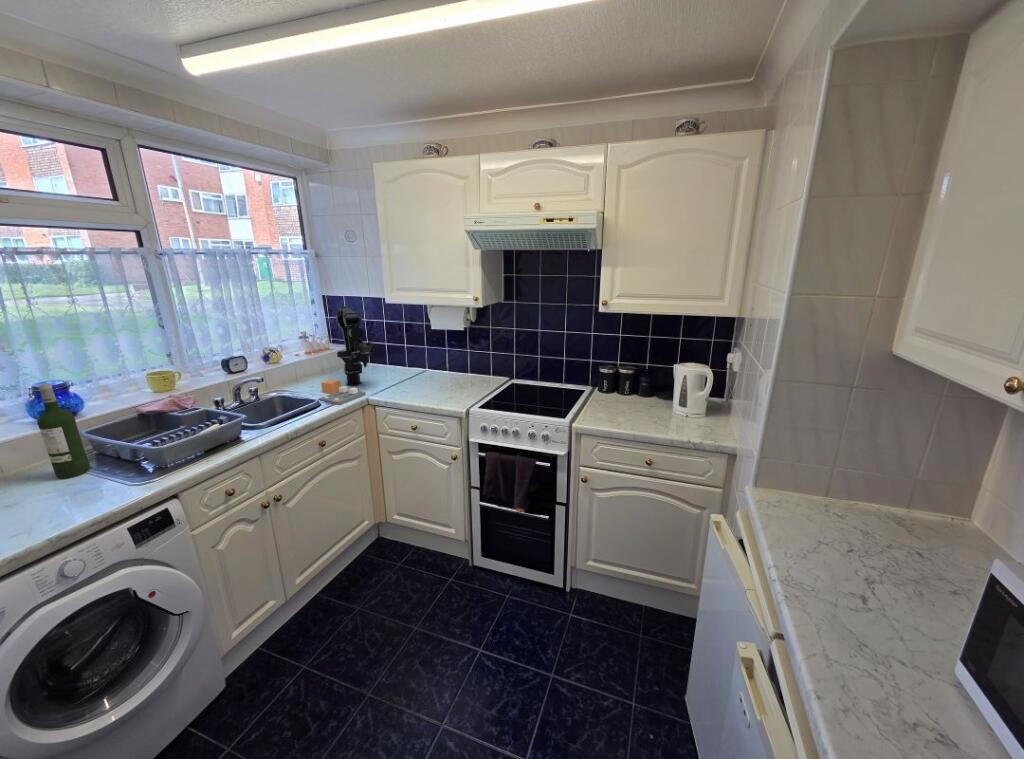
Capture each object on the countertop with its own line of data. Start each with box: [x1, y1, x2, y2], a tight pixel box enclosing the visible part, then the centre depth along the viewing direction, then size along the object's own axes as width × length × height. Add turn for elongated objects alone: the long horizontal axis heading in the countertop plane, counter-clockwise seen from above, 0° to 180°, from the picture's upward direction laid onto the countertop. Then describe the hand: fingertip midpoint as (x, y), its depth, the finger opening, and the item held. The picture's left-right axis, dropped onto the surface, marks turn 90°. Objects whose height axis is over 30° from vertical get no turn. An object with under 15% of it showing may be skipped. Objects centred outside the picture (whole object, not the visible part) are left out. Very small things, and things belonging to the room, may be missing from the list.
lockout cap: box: [320, 379, 342, 395], centre depth 216 cm, size 6×6×6 cm
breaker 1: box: [339, 385, 349, 393], centre depth 210 cm, size 3×3×2 cm
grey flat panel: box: [317, 390, 367, 406], centre depth 206 cm, size 17×14×2 cm
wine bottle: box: [36, 383, 91, 480], centre depth 130 cm, size 8×8×30 cm
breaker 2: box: [348, 387, 359, 394], centre depth 207 cm, size 3×3×2 cm
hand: (358, 368), depth 209 cm, fingers open, 9 cm apart
